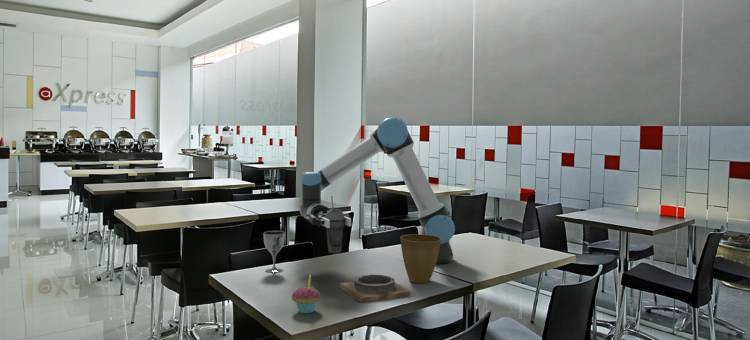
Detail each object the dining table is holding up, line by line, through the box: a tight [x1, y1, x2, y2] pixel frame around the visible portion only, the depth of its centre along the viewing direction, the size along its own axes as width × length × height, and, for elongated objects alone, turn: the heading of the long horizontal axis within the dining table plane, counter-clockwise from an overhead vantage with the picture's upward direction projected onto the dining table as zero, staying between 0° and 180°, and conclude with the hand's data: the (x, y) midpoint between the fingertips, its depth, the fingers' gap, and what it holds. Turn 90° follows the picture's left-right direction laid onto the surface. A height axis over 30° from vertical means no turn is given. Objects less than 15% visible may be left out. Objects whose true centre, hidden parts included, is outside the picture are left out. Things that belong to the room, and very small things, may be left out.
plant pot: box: [399, 233, 441, 284], centre depth 190 cm, size 15×15×16 cm
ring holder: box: [339, 274, 411, 303], centre depth 177 cm, size 18×18×4 cm
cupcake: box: [291, 272, 321, 314], centre depth 156 cm, size 9×8×12 cm
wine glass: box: [263, 230, 286, 274], centre depth 203 cm, size 8×8×15 cm
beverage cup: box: [325, 195, 345, 254], centre depth 186 cm, size 7×7×20 cm
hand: (339, 223), depth 181 cm, fingers closed on beverage cup, 7 cm apart
